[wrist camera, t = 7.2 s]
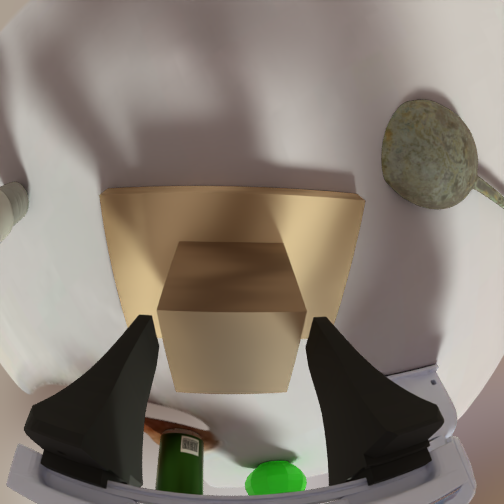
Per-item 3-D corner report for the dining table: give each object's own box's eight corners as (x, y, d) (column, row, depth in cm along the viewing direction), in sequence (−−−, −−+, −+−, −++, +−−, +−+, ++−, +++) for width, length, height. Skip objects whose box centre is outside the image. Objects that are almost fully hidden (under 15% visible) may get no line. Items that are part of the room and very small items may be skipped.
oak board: (356, 193, 15) (365, 200, 14) (325, 325, 20) (329, 337, 19) (108, 188, 14) (99, 195, 13) (134, 324, 19) (130, 335, 18)
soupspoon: (389, 79, 13) (355, 173, 16) (419, 79, 10) (377, 191, 13) (537, 201, 16) (512, 254, 19) (557, 216, 13) (530, 271, 17)
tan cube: (283, 242, 15) (306, 311, 10) (273, 320, 18) (286, 392, 13) (178, 241, 14) (156, 310, 10) (186, 319, 17) (176, 391, 12)
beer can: (165, 423, 27) (157, 515, 16) (209, 433, 28) (209, 522, 18) (157, 437, 29) (150, 517, 18) (196, 446, 30) (195, 523, 20)
